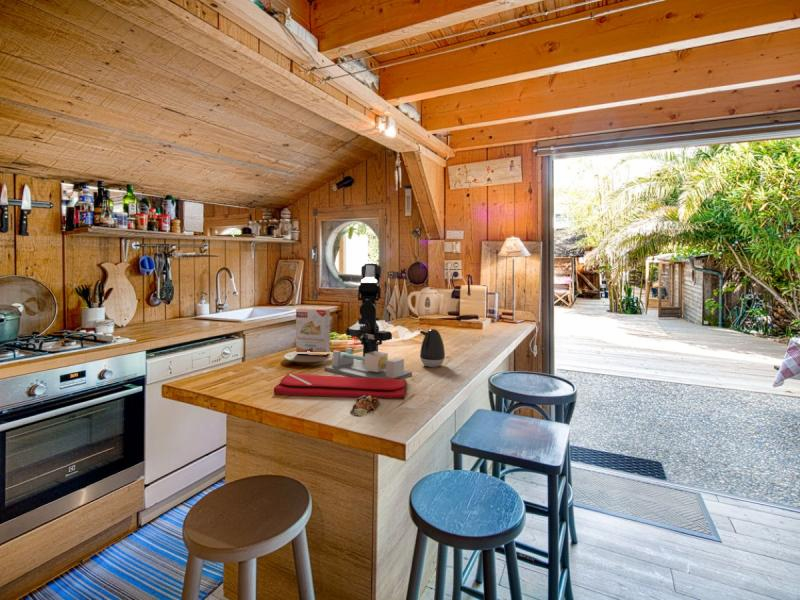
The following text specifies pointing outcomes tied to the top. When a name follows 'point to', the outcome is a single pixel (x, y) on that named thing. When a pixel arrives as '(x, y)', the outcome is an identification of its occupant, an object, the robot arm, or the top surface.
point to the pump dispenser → (432, 349)
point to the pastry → (364, 405)
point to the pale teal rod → (381, 363)
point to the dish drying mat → (340, 386)
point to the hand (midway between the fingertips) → (368, 355)
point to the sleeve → (374, 361)
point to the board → (358, 367)
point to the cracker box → (312, 330)
